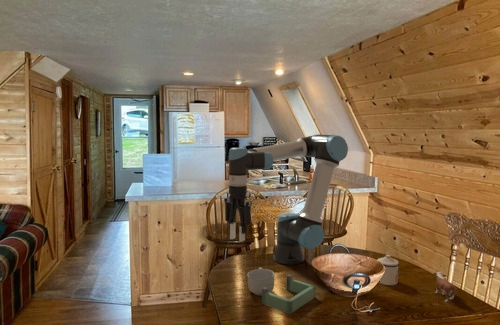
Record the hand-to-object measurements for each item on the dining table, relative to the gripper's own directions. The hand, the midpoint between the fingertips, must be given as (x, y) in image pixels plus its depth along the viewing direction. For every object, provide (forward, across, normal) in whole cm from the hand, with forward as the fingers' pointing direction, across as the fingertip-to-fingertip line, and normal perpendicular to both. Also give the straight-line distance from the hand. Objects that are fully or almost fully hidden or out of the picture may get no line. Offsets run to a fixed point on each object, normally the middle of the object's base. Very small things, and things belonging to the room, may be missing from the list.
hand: (237, 239), depth 163 cm
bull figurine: (+19, +71, +43) cm, 85 cm away
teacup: (+19, +13, 0) cm, 23 cm away
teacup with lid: (+19, +48, +44) cm, 68 cm away
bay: (+19, +26, 0) cm, 32 cm away
